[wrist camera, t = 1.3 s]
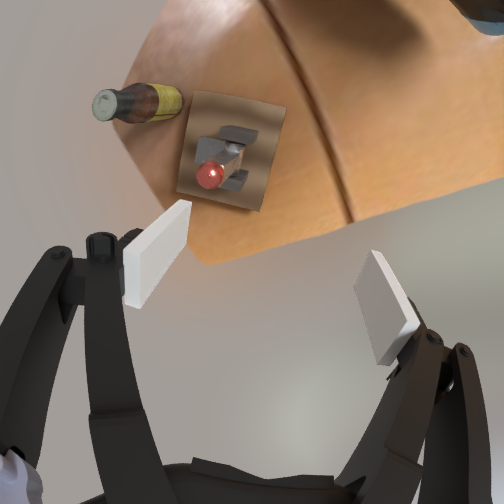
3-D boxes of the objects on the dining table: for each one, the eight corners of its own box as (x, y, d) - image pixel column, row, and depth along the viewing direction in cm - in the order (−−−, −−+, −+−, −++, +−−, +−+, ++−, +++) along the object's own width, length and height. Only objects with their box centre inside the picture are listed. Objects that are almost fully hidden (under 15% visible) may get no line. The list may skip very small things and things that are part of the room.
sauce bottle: (171, 80, 41) (109, 66, 24) (192, 102, 43) (137, 97, 26) (146, 104, 44) (78, 106, 26) (166, 127, 46) (103, 138, 28)
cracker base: (200, 91, 42) (176, 85, 32) (286, 108, 42) (287, 104, 32) (182, 186, 50) (157, 205, 40) (261, 205, 50) (254, 229, 40)
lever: (203, 134, 39) (156, 145, 24) (248, 143, 39) (225, 158, 25) (197, 161, 41) (151, 187, 27) (241, 171, 41) (216, 202, 27)
